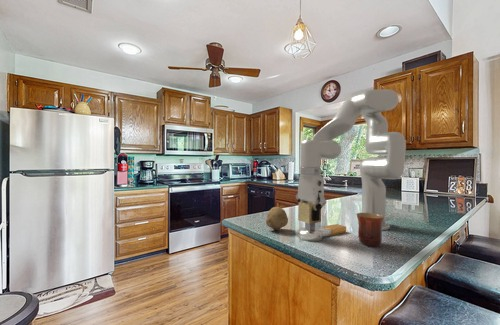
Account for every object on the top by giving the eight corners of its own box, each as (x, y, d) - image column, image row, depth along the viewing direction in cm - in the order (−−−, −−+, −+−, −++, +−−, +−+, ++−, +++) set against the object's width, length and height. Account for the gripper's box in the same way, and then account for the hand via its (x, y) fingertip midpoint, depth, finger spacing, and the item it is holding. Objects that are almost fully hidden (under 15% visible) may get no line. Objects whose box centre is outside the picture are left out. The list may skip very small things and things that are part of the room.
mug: (357, 238, 85) (357, 211, 85) (384, 242, 80) (384, 214, 80) (353, 248, 75) (353, 217, 75) (383, 254, 70) (383, 221, 70)
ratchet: (333, 228, 98) (333, 213, 98) (350, 233, 90) (350, 217, 90) (293, 235, 87) (293, 219, 87) (309, 242, 79) (309, 224, 79)
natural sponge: (292, 230, 94) (292, 207, 94) (278, 235, 88) (278, 210, 88) (276, 226, 100) (276, 204, 100) (262, 230, 95) (262, 206, 95)
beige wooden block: (309, 218, 89) (310, 201, 90) (321, 222, 84) (321, 203, 84) (298, 220, 87) (298, 202, 87) (309, 223, 81) (309, 204, 81)
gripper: (335, 172, 80) (334, 222, 80) (302, 171, 95) (301, 213, 95) (320, 173, 76) (319, 225, 76) (288, 171, 91) (287, 214, 91)
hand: (309, 218), depth 85 cm, fingers closed on beige wooden block, 6 cm apart
